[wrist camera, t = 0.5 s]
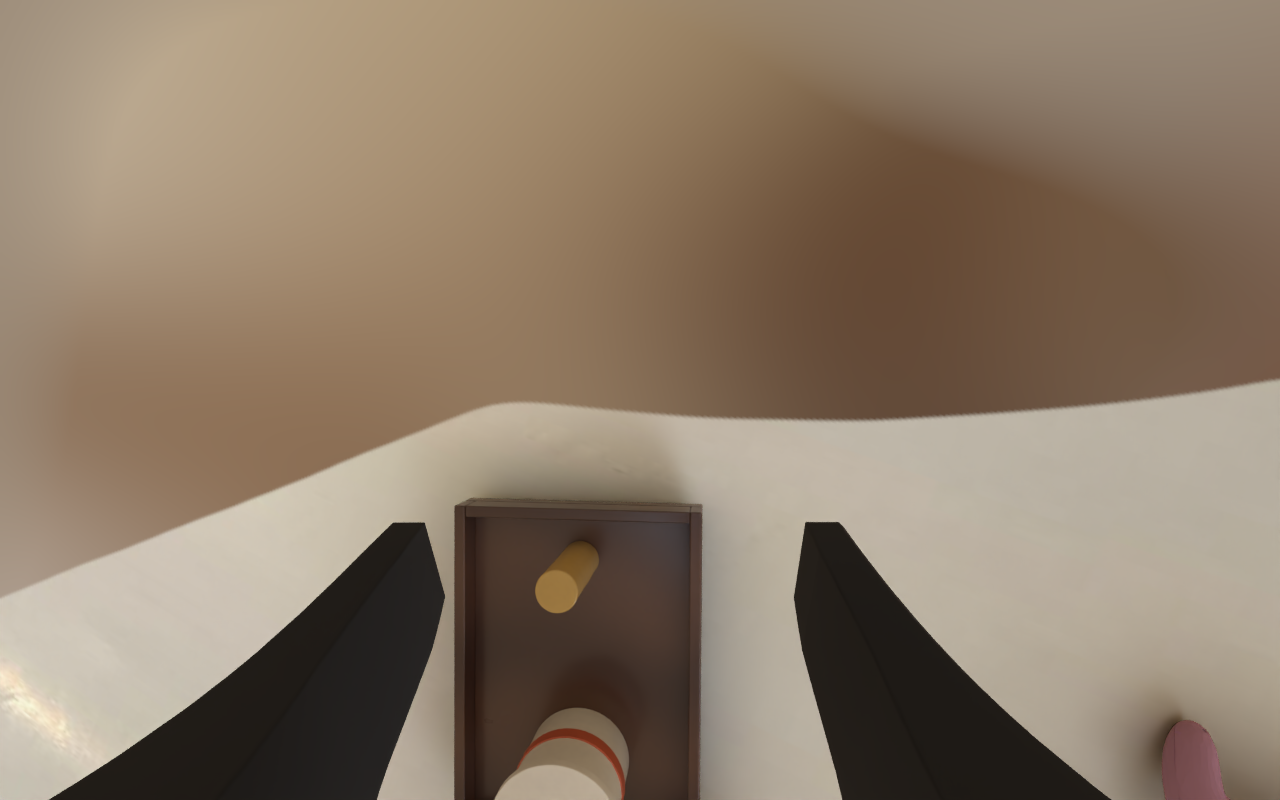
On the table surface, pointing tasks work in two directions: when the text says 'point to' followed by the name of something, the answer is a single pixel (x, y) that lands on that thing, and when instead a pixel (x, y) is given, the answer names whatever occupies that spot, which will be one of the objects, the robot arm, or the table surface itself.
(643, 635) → the tray
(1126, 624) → the table surface
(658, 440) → the table surface
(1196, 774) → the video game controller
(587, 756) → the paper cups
